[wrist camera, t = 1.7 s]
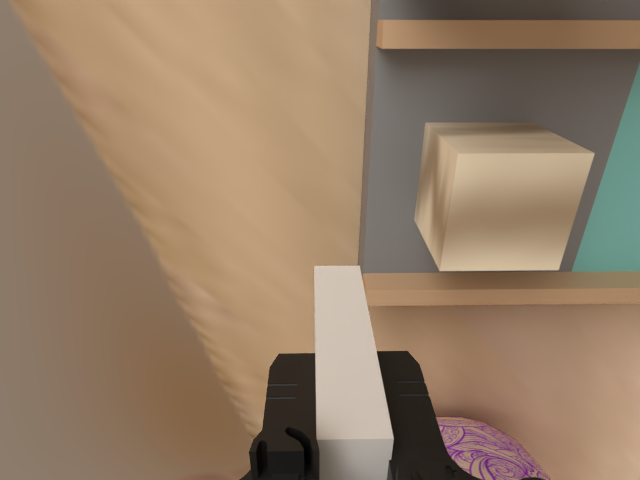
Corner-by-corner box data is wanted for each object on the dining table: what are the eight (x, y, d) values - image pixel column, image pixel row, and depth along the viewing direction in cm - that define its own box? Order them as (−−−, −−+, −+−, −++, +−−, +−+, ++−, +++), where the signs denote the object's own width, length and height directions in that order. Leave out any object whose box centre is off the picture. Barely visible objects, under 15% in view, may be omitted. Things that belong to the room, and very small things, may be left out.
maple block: (425, 122, 24) (458, 153, 19) (532, 122, 24) (594, 153, 19) (414, 219, 27) (439, 271, 21) (509, 219, 27) (558, 270, 21)
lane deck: (371, 0, 24) (385, -3, 19) (936, 2, 24) (1076, -1, 20) (357, 275, 32) (364, 317, 28) (776, 272, 33) (849, 312, 28)
